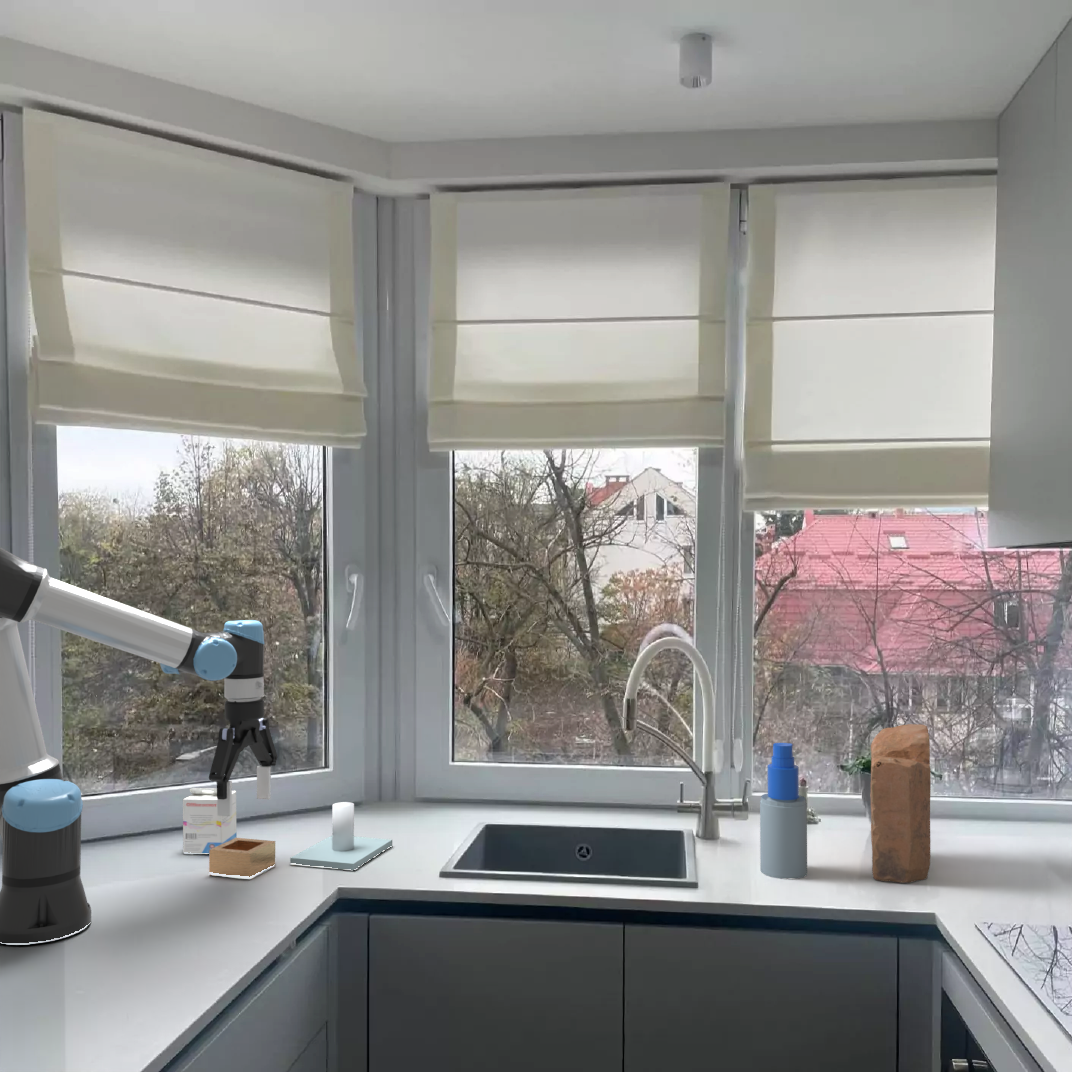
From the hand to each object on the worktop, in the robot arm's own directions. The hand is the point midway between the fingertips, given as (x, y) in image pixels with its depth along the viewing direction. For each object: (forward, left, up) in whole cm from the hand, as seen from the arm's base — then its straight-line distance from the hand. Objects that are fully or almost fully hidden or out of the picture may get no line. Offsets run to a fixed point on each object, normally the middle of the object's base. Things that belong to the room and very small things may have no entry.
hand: (244, 807), depth 196 cm
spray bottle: (+30, -102, -13) cm, 107 cm away
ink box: (+11, +15, -13) cm, 23 cm away
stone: (+39, -124, -13) cm, 130 cm away
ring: (0, 0, -12) cm, 12 cm away
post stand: (+15, -14, -12) cm, 24 cm away
